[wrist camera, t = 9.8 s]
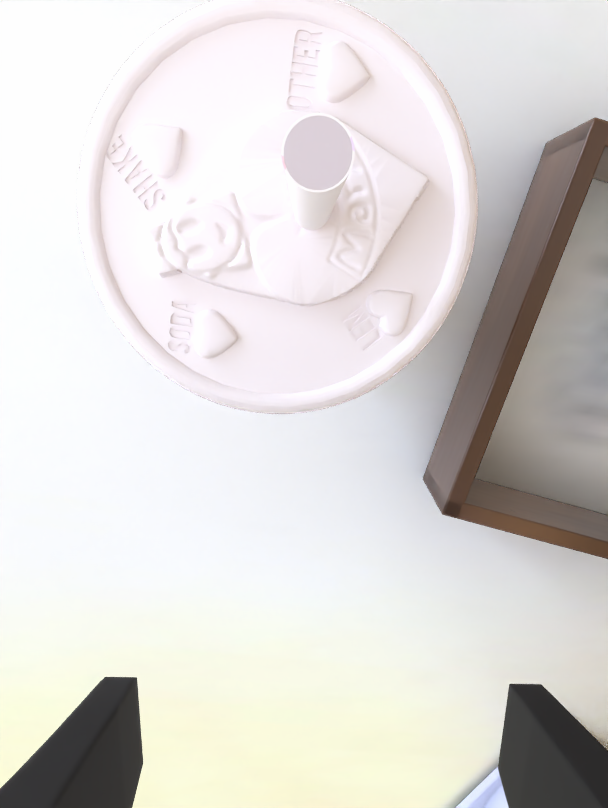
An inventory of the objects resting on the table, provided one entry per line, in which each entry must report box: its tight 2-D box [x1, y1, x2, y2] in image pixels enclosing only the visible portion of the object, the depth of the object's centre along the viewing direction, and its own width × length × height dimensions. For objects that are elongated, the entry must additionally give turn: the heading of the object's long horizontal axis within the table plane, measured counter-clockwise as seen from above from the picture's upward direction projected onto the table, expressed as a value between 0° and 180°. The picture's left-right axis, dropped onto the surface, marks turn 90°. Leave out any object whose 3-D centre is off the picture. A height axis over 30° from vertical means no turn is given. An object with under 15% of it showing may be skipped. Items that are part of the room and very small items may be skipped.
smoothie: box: [77, 0, 478, 414], centre depth 11 cm, size 6×6×14 cm
